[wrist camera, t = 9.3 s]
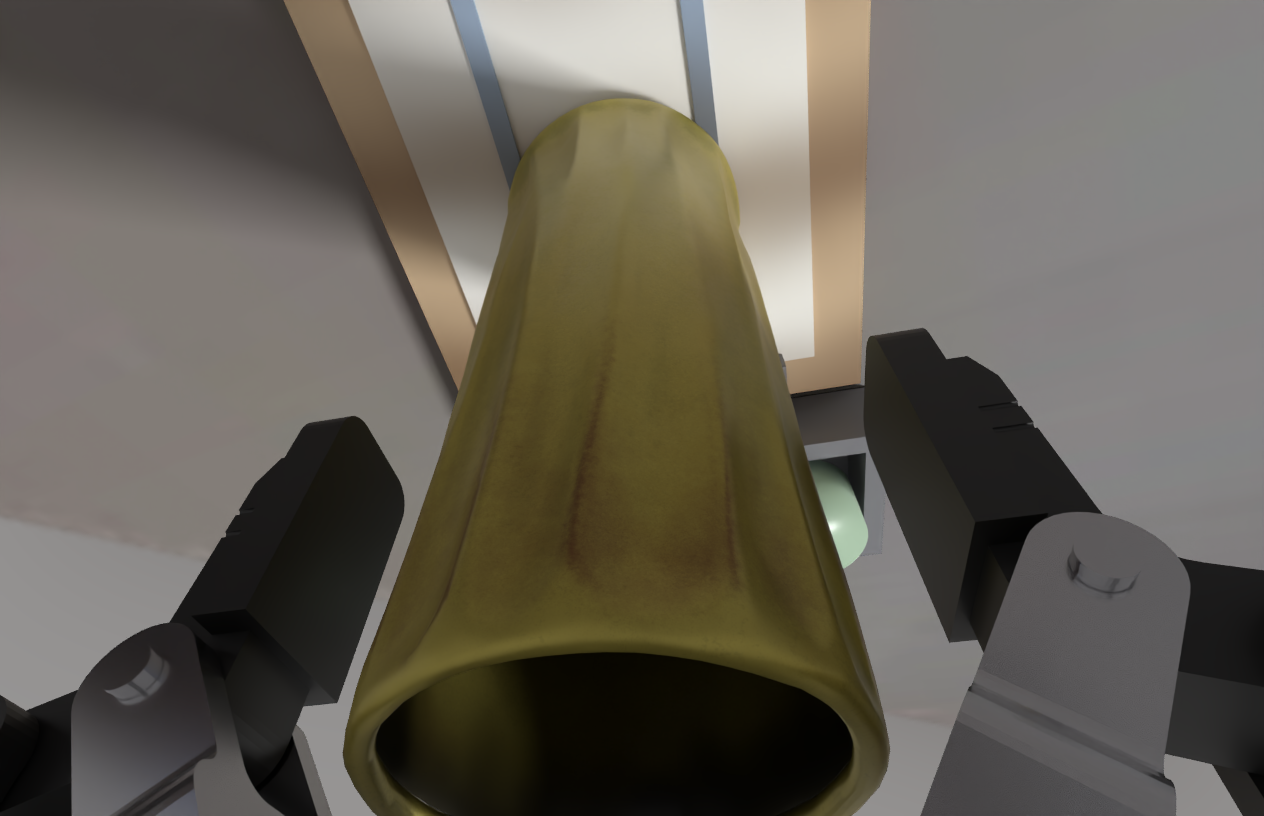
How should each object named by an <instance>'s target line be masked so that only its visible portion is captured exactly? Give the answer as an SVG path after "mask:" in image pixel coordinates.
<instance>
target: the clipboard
mask: <svg viewBox="0 0 1264 816" xmlns="http://www.w3.org/2000/svg"><path fill="white" fill-rule="evenodd" d="M284 3H285V5H286V7H287V9H288V12H289V14H290V16H291V18H292V20H293V23H294V25H295V27H296V29H297V32H298V34H299V36H300V38H301V41H302V43H303V45H304V47H305V49H306V52H307V54H308V56H309V58H310V61H311V63H312V65H313V67H314V70H315V72H316V74H317V76H318V78H319V81H320V83H321V85H322V87H323V90H324V92H325V94H326V96H327V99H328V101H329V103H330V105H331V107H332V110H333V112H334V114H335V116H336V119H337V121H338V123H339V125H340V128H341V130H342V132H343V134H344V136H345V139H346V141H347V143H348V145H349V148H350V150H351V152H352V154H353V157H354V159H355V161H356V163H357V165H358V168H359V170H360V172H361V174H362V177H363V179H364V181H365V183H366V186H367V188H368V190H369V192H370V194H371V197H372V199H373V201H374V203H375V206H376V208H377V210H378V212H379V215H380V217H381V219H382V221H383V223H384V226H385V228H386V230H387V232H388V235H389V237H390V239H391V241H392V244H393V246H394V248H395V250H396V252H397V255H398V257H399V259H400V261H401V264H402V266H403V268H404V270H405V273H406V275H407V277H408V279H409V281H410V284H411V286H412V288H413V290H414V293H415V295H416V297H417V299H418V302H419V304H420V306H421V308H422V310H423V313H424V315H425V317H426V319H427V322H428V324H429V326H430V328H431V331H432V333H433V335H434V337H435V339H436V342H437V344H438V346H439V348H440V351H441V353H442V355H443V357H444V360H445V362H446V364H447V366H448V368H449V371H450V373H451V375H452V377H453V380H454V382H455V384H456V386H457V389H458V391H459V388H460V385H461V381H462V378H463V375H464V371H465V367H466V363H467V359H468V355H469V351H470V347H471V343H472V340H473V336H474V332H475V329H476V326H477V322H478V319H479V315H480V312H481V308H482V305H483V302H484V298H485V295H486V291H487V288H488V285H489V281H490V278H491V275H492V271H493V268H494V265H495V261H496V258H497V255H498V252H499V248H500V243H501V239H502V235H503V231H504V227H505V223H506V219H507V215H508V197H509V193H510V189H511V185H512V182H513V178H514V175H515V172H516V169H517V167H518V164H519V162H520V160H521V158H522V156H523V155H524V153H525V151H526V150H527V148H528V147H529V145H530V144H531V143H532V141H533V140H534V139H535V138H536V137H537V136H538V135H539V133H540V132H542V131H543V130H544V129H545V128H546V127H547V126H548V125H549V124H551V123H552V122H553V121H555V120H556V119H558V118H559V117H560V116H562V115H564V114H566V113H567V112H569V111H571V110H573V109H575V108H577V107H579V106H582V105H585V104H588V103H591V102H595V101H599V100H604V99H614V98H631V99H643V100H648V101H652V102H656V103H659V104H662V105H665V106H667V107H670V108H672V109H674V110H676V111H678V112H680V113H682V114H683V115H685V116H686V117H688V118H689V119H691V120H692V121H694V122H695V123H696V124H697V125H699V126H700V127H701V128H702V129H704V130H705V131H706V132H707V133H708V134H709V135H710V136H711V137H712V138H713V140H714V141H715V142H716V143H717V145H718V146H719V147H720V149H721V150H722V152H723V154H724V155H725V157H726V159H727V161H728V164H729V166H730V168H731V171H732V174H733V177H734V180H735V184H736V188H737V193H738V199H739V208H740V226H739V234H740V236H741V239H742V241H743V243H744V245H745V248H746V250H747V252H748V254H749V256H750V259H751V262H752V265H753V268H754V271H755V274H756V277H757V280H758V283H759V287H760V290H761V293H762V297H763V301H764V304H765V308H766V312H767V315H768V318H769V321H770V325H771V328H772V332H773V335H774V339H775V343H776V346H777V350H778V354H779V357H780V361H781V365H782V368H783V372H784V375H785V379H786V382H787V385H788V389H789V392H790V394H794V393H800V392H807V391H813V390H819V389H826V388H832V387H839V386H845V385H852V384H858V383H861V347H862V310H863V272H864V235H865V198H866V160H867V123H868V85H869V48H870V10H871V0H284Z"/></svg>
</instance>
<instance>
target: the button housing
mask: <svg viewBox="0 0 1264 816" xmlns="http://www.w3.org/2000/svg"><path fill="white" fill-rule="evenodd" d="M864 388H865V387H862V388H856V389H849V390H843V391H837V392H830V393H824V394H817V395H811V396H804V397H798V398H791V399H792V403H793V406H794V410H795V414H796V417H797V421H798V425H799V430H800V434H801V438H802V441H803V444H804V448H805V451H806V455H807V458H808V461H811V460H822V461H825V462H828V463H830V464H832V465H835V466H836V467H838V468H839V469H840V470H842V471H843V472H844V473H845V475H846V476H847V477H848V479H849V481H850V484H851V486H852V489H853V491H854V494H855V497H856V499H857V502H858V504H859V507H860V510H861V512H862V515H863V518H864V520H865V523H866V525H867V529H868V541H867V544H866V546H865V548H864V550H863V552H862V553H861V554H860V556H866V555H874V554H882V539H883V524H884V508H885V493H886V491H885V489H884V486H883V484H882V482H881V479H880V477H879V474H878V472H877V470H876V467H875V465H874V463H873V460H872V458H871V455H870V452H869V449H868V446H867V442H866V437H865V431H864V421H863V411H864Z"/></svg>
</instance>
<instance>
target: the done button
mask: <svg viewBox="0 0 1264 816" xmlns="http://www.w3.org/2000/svg"><path fill="white" fill-rule="evenodd" d="M809 465H810V468H811V471H812V475H813V478H814V481H815V485H816V488H817V491H818V494H819V497H820V501H821V504H822V507H823V510H824V513H825V516H826V519H827V522H828V525H829V528H830V531H831V534H832V537H833V540H834V542H835V545H836V548H837V551H838V554H839V558H840V561H841V564H842V567H843V569H844V568H845V567H847V566H848V565H850V564H851V563H852V562H854V561H855V560H856V559H857V558H858V557H859V556H860V554H861V553H862V552H863V550H864V548H865V546H866V544H867V541H868V529H867V525H866V523H865V520H864V518H863V515H862V512H861V510H860V507H859V504H858V502H857V499H856V497H855V494H854V491H853V489H852V486H851V484H850V481H849V479H848V477H847V476H846V475H845V473H844V472H843V471H842V470H840V469H839V468H838V467H836V466H835V465H832V464H830V463H828V462H825V461H822V460H811V461H809Z"/></svg>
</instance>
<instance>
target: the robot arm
mask: <svg viewBox="0 0 1264 816" xmlns="http://www.w3.org/2000/svg"><path fill="white" fill-rule="evenodd" d="M1017 402H1018V401H1017V399H1016V398H1015V397H1014V395H1013V394H1012V393H1011V391H1010V390H1009V389H1008V387H1007V386H1006V385H1005V383H1004V382H1003V381H1002V379H1001V378H1000V377H999V376H998V375H997V374H995V373H994V372H992V371H990V370H989V369H987V368H985V367H984V366H982V365H981V364H979V363H977V362H976V361H974V360H973V359H971V358H969V357H968V356H965V357H959V358H952V359H946V358H945V356H944V355H943V353H942V352H941V350H940V349H939V347H938V346H937V344H936V343H935V341H934V340H933V338H932V337H931V335H930V334H929V332H928V331H927V330H926V329H924V328H919V329H913V330H907V331H900V332H894V333H887V334H881V335H875V336H870V337H869V339H868V342H867V347H866V365H865V388H864V411H863V421H864V431H865V437H866V442H867V446H868V449H869V452H870V455H871V458H872V460H873V463H874V465H875V467H876V470H877V472H878V474H879V477H880V479H881V482H882V484H883V486H884V489H885V491H886V493H887V496H888V498H889V501H890V503H891V505H892V508H893V510H894V512H895V515H896V517H897V520H898V522H899V524H900V527H901V529H902V531H903V534H904V536H905V539H906V541H907V543H908V546H909V548H910V550H911V553H912V555H913V558H914V560H915V562H916V565H917V567H918V569H919V572H920V574H921V577H922V579H923V581H924V584H925V586H926V588H927V591H928V593H929V596H930V598H931V600H932V603H933V605H934V607H935V610H936V612H937V615H938V617H939V619H940V622H941V624H942V626H943V629H944V631H945V634H946V636H947V638H948V641H949V643H950V642H960V641H969V640H978V642H979V644H980V646H981V648H982V650H983V652H984V654H983V657H982V659H981V662H980V665H979V668H978V670H977V673H976V676H975V678H974V681H973V683H972V685H971V686H970V687H969V689H968V691H967V693H966V695H965V698H964V700H963V703H962V705H961V708H960V710H959V713H958V716H957V718H956V721H955V724H954V727H953V729H952V732H951V735H950V737H949V740H948V743H947V745H946V748H945V751H944V753H943V757H942V759H941V762H940V764H939V767H938V770H937V772H936V775H935V778H934V780H933V783H932V786H931V789H930V791H929V794H928V797H927V799H926V802H925V805H924V808H923V810H922V813H921V816H1176V792H1175V787H1174V784H1173V782H1172V781H1171V780H1169V779H1167V778H1165V776H1164V770H1163V769H1164V755H1165V754H1169V755H1173V756H1178V757H1183V758H1187V759H1192V760H1196V761H1201V762H1205V763H1209V764H1212V765H1213V766H1214V768H1215V770H1216V771H1217V773H1218V775H1219V776H1220V778H1221V780H1222V782H1223V783H1224V785H1225V786H1226V788H1227V790H1228V792H1229V793H1230V795H1231V797H1232V798H1233V800H1234V801H1235V803H1236V805H1237V807H1238V808H1239V810H1240V812H1241V813H1242V815H1243V816H1264V570H1256V569H1248V568H1241V567H1233V566H1226V565H1218V564H1211V563H1203V562H1198V561H1192V560H1187V559H1183V558H1180V557H1177V555H1176V554H1175V553H1174V552H1173V551H1172V550H1171V549H1170V548H1169V547H1168V546H1167V545H1166V544H1165V543H1164V542H1162V541H1161V540H1160V539H1158V538H1157V537H1156V536H1154V535H1153V534H1151V533H1149V532H1148V531H1146V530H1144V529H1143V528H1141V527H1138V526H1136V525H1134V524H1132V523H1130V522H1127V521H1124V520H1122V519H1119V518H1116V517H1112V516H1108V515H1104V514H1102V513H1101V511H1100V510H1099V509H1098V508H1097V506H1096V505H1095V504H1094V502H1093V501H1092V500H1091V498H1090V497H1089V496H1088V494H1087V493H1086V492H1085V490H1084V489H1083V488H1082V486H1081V485H1080V484H1079V482H1078V481H1077V480H1076V478H1075V477H1074V476H1073V474H1072V473H1071V472H1070V470H1069V469H1068V468H1067V466H1066V465H1065V464H1064V462H1063V461H1062V460H1061V458H1060V457H1059V456H1058V454H1057V453H1056V452H1055V450H1054V449H1053V448H1052V446H1051V445H1050V444H1049V442H1048V441H1047V440H1046V438H1045V437H1044V436H1043V434H1042V433H1041V432H1040V430H1039V429H1038V428H1034V425H1033V421H1032V420H1031V418H1030V417H1029V416H1028V414H1027V413H1026V412H1025V410H1024V409H1023V408H1022V406H1018V403H1017ZM239 511H240V515H236V516H235V517H234V519H233V520H232V522H231V524H230V525H229V527H228V529H227V530H226V537H224V538H221V540H220V541H219V543H218V545H217V546H216V548H215V550H214V551H213V553H212V554H211V556H210V558H209V559H208V561H207V563H206V564H205V566H204V568H203V569H202V571H201V572H200V574H199V575H198V577H197V579H196V580H195V582H194V584H193V585H192V587H191V588H190V590H189V592H188V593H187V595H186V596H185V598H184V600H183V601H182V603H181V605H180V606H179V608H178V610H177V611H176V613H175V614H174V616H173V618H172V619H171V621H170V622H169V623H163V624H159V625H155V626H152V627H149V628H147V629H144V630H142V631H140V632H138V633H137V634H134V635H133V636H131V637H130V638H128V639H126V640H125V641H123V642H122V643H120V644H119V645H117V646H116V647H115V648H114V649H112V650H111V651H110V652H109V653H108V654H107V655H105V656H104V657H103V658H102V659H101V660H100V661H99V662H98V663H97V664H96V665H95V666H94V667H93V669H92V670H91V671H90V673H89V674H88V675H87V676H86V678H85V679H84V681H83V682H82V684H81V685H80V687H79V689H78V690H76V691H74V692H71V693H69V694H66V695H64V696H61V697H59V698H56V699H54V700H52V701H49V702H46V703H44V704H41V705H39V706H36V707H34V708H32V709H29V710H27V711H25V710H24V709H22V708H20V707H19V706H17V705H16V704H14V703H12V702H11V701H9V700H7V699H6V698H4V697H3V696H1V695H0V816H332V814H331V811H330V808H329V805H328V802H327V799H326V796H325V794H324V790H323V788H322V784H321V781H320V778H319V775H318V772H317V769H316V766H315V764H314V760H313V757H312V754H311V751H310V748H309V745H308V743H307V739H306V737H305V734H304V732H303V731H302V730H301V729H300V728H299V727H298V726H297V725H296V723H297V720H298V718H299V716H300V713H301V711H302V708H303V706H312V705H322V704H330V703H337V702H338V699H339V696H340V693H341V691H342V688H343V685H344V682H345V679H346V677H347V674H348V671H349V668H350V665H351V663H352V660H353V656H354V654H355V651H356V648H357V645H358V643H359V640H360V637H361V634H362V631H363V629H364V626H365V623H366V620H367V617H368V614H369V612H370V609H371V606H372V603H373V600H374V598H375V595H376V592H377V589H378V586H379V583H380V581H381V578H382V575H383V572H384V569H385V566H386V564H387V561H388V558H389V555H390V552H391V549H392V547H393V544H394V541H395V538H396V535H397V533H398V530H399V527H400V524H401V521H402V518H403V514H404V494H403V490H402V486H401V483H400V481H399V479H398V477H397V476H396V474H395V472H394V471H393V469H392V467H391V466H390V464H389V462H388V461H387V459H386V457H385V455H384V454H383V452H382V450H381V449H380V447H379V445H378V444H377V442H376V440H375V439H374V437H373V435H372V434H371V432H370V430H369V428H368V427H367V425H366V424H365V423H364V421H363V420H361V419H360V418H358V417H356V416H350V417H344V418H338V419H331V420H325V421H319V422H312V423H308V424H306V425H305V426H304V427H303V428H302V430H301V431H300V433H299V434H298V436H297V438H296V439H295V441H294V443H293V445H292V446H291V448H290V450H289V451H288V453H287V455H286V456H285V458H281V459H280V460H279V461H278V462H277V463H276V464H275V465H274V466H273V467H272V468H271V469H270V470H269V471H268V472H267V473H266V474H265V475H264V476H263V477H262V478H260V479H259V480H258V481H257V482H256V483H255V485H254V486H253V488H252V490H251V491H250V493H249V495H248V496H247V498H246V499H245V501H244V503H243V504H242V506H241V508H240V509H239Z"/></svg>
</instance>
